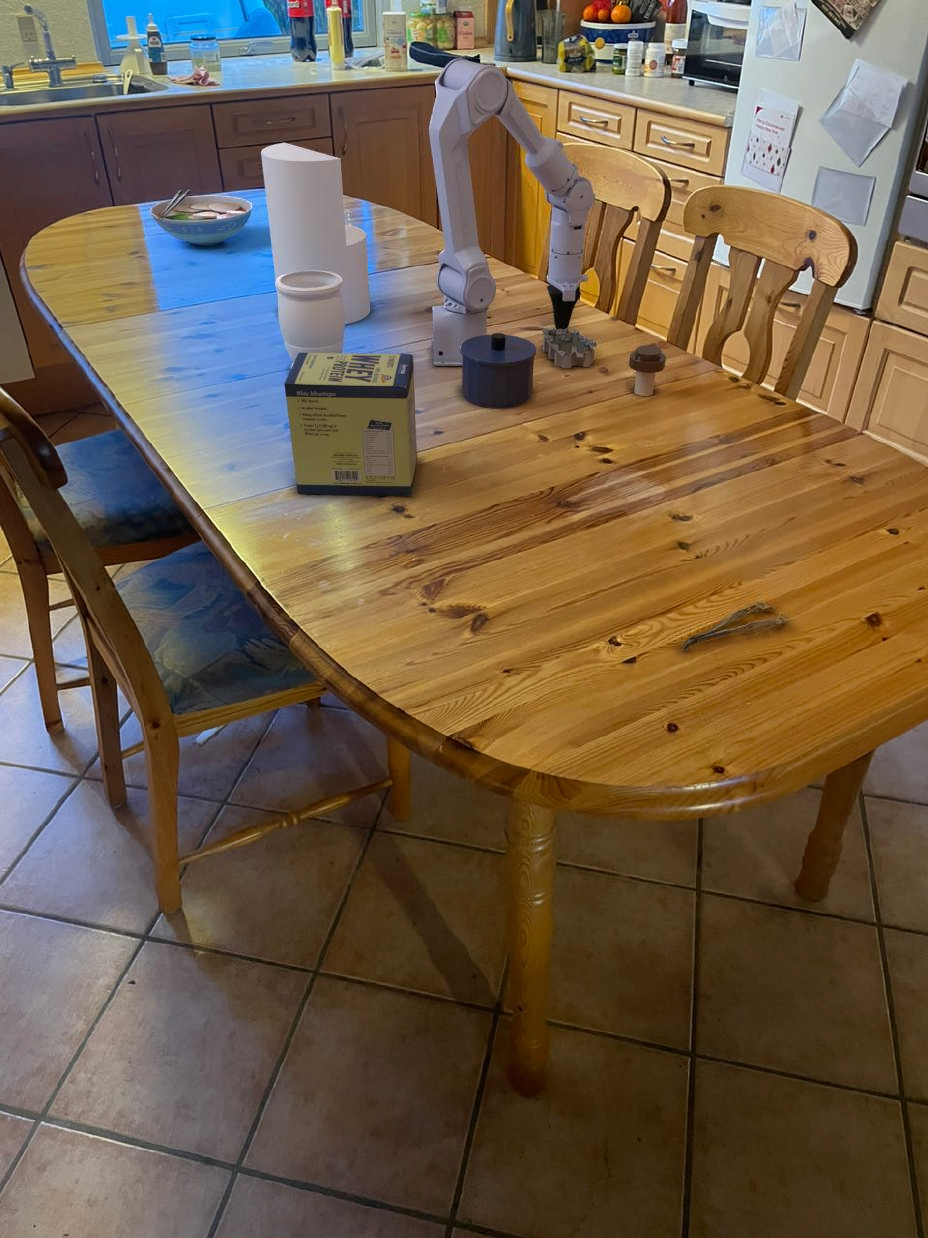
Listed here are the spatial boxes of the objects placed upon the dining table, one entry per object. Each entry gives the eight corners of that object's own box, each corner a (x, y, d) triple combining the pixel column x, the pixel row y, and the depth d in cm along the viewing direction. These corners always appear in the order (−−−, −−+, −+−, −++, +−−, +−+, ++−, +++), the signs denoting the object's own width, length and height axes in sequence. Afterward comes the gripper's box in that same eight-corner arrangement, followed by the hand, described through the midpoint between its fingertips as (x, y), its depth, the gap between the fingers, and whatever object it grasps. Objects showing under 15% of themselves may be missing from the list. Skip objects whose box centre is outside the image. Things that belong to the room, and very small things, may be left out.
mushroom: (629, 399, 150) (634, 356, 145) (623, 385, 154) (627, 343, 150) (664, 399, 150) (670, 356, 146) (657, 385, 154) (663, 343, 150)
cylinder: (312, 333, 172) (297, 165, 155) (262, 308, 182) (242, 148, 165) (388, 312, 181) (381, 151, 164) (336, 289, 191) (324, 136, 174)
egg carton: (597, 367, 160) (599, 344, 157) (553, 370, 159) (555, 346, 156) (580, 344, 168) (582, 321, 166) (538, 346, 167) (540, 323, 165)
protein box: (307, 457, 133) (296, 350, 124) (418, 459, 133) (415, 352, 124) (294, 495, 125) (281, 383, 116) (412, 497, 125) (409, 385, 115)
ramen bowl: (245, 257, 208) (240, 218, 203) (141, 257, 208) (134, 217, 203) (266, 226, 228) (262, 190, 223) (171, 226, 228) (164, 189, 223)
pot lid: (461, 370, 142) (461, 350, 141) (458, 341, 152) (458, 321, 150) (539, 369, 143) (540, 349, 141) (532, 340, 152) (533, 321, 150)
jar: (358, 363, 161) (352, 273, 152) (332, 386, 153) (324, 293, 144) (302, 355, 164) (293, 266, 155) (273, 377, 156) (262, 285, 147)
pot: (463, 408, 147) (463, 365, 142) (461, 380, 155) (461, 338, 151) (534, 407, 147) (536, 364, 143) (528, 379, 156) (530, 337, 152)
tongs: (674, 644, 100) (677, 629, 99) (760, 610, 106) (764, 595, 105) (702, 666, 97) (706, 650, 96) (789, 629, 103) (793, 614, 102)
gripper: (596, 262, 156) (589, 342, 164) (583, 237, 168) (578, 313, 176) (553, 262, 156) (548, 343, 164) (544, 237, 168) (540, 314, 176)
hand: (561, 328), depth 170 cm, fingers closed
